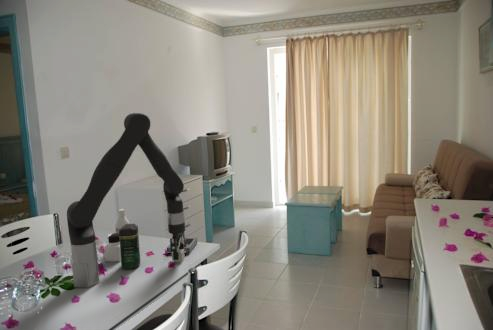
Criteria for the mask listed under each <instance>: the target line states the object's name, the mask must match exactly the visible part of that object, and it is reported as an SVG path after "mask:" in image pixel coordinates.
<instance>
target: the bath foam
mask: <svg viewBox="0 0 493 330" xmlns="http://www.w3.org/2000/svg"><path fill="white" fill-rule="evenodd" d="M125 224H131V223H130V221H129V220H128V218H127V217H126V212H125V208H119V209H118V218H117V220H116V222H115V233H119V230H120V228H121V227H122V226H124V225H125Z"/></svg>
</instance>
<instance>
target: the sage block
mask: <svg viewBox="0 0 493 330" xmlns="http://www.w3.org/2000/svg"><path fill="white" fill-rule="evenodd" d="M178 256H179V259H178V260H174V259H173V252H172V254H171V260H172V261H174V262H173V263H183V262H182V261H185V259H184V258H186V254H184V249H178Z"/></svg>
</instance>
